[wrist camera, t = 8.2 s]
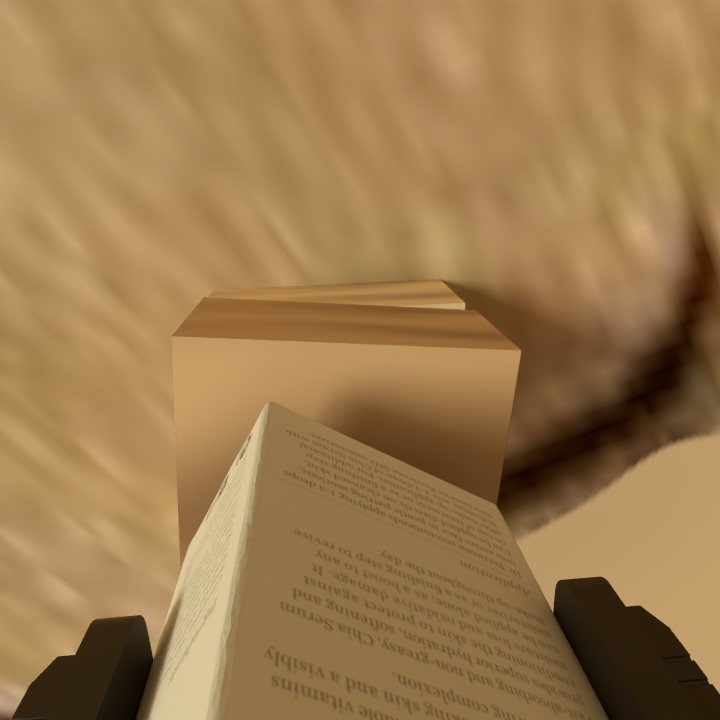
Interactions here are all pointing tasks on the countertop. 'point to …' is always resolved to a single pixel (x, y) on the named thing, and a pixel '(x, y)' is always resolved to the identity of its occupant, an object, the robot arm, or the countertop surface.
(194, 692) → the skincare box
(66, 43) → the countertop surface
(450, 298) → the block lower
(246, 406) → the tan square block
